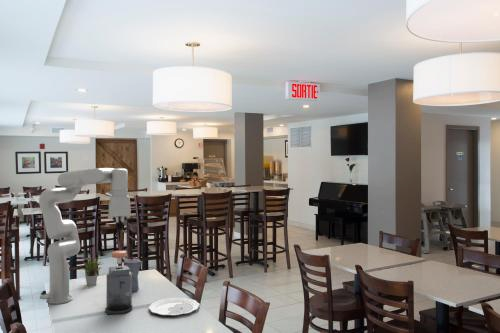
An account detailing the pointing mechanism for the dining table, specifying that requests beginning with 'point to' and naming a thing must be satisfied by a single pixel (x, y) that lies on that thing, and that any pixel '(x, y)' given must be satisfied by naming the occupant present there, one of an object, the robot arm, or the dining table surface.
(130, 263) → the moka pot
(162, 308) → the plate
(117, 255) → the pink rounded piece
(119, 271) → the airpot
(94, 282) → the house plant
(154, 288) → the dining table surface
